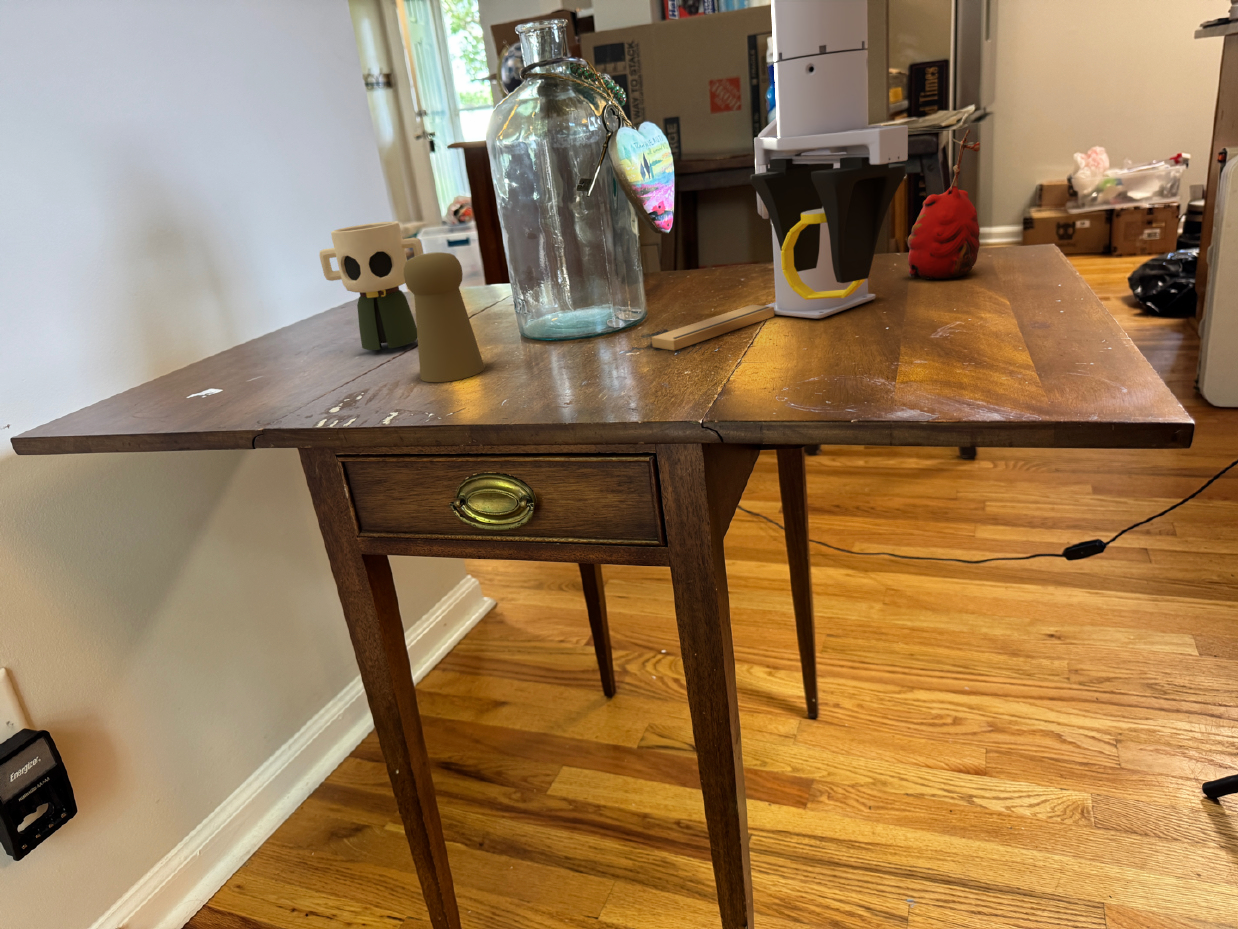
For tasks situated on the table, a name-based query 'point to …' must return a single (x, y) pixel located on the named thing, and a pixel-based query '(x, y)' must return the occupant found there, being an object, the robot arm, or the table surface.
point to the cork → (442, 319)
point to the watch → (788, 261)
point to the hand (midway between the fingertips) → (826, 275)
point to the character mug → (375, 280)
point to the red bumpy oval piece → (946, 231)
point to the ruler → (712, 327)
